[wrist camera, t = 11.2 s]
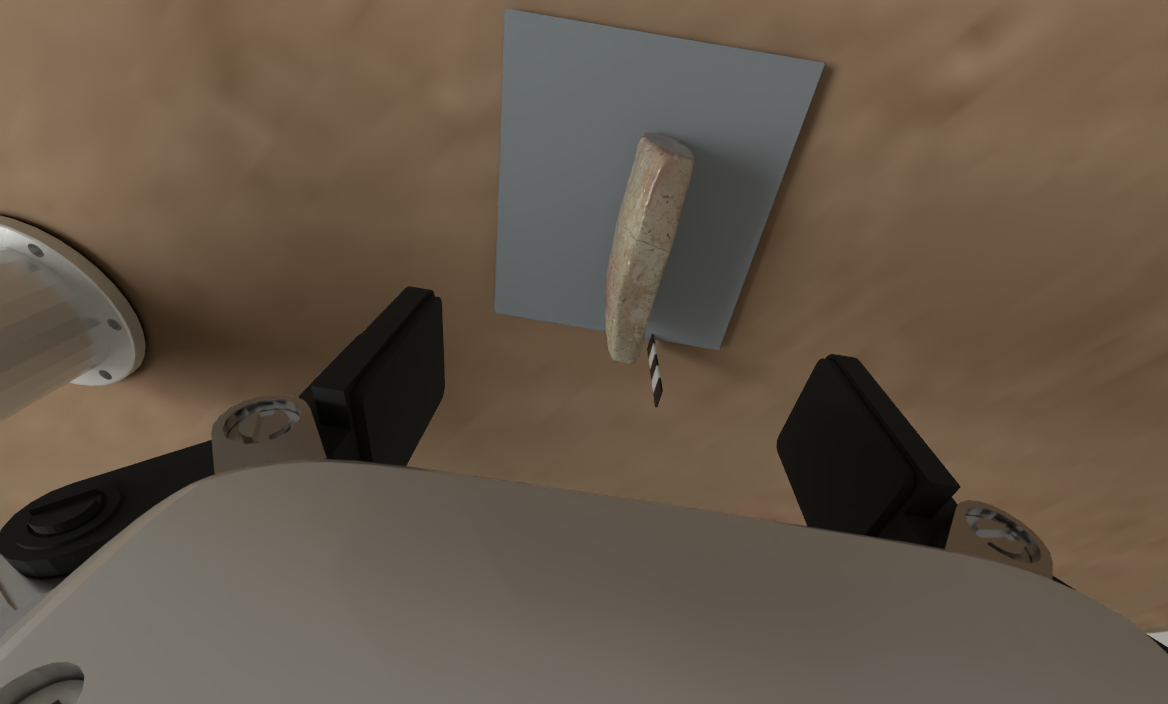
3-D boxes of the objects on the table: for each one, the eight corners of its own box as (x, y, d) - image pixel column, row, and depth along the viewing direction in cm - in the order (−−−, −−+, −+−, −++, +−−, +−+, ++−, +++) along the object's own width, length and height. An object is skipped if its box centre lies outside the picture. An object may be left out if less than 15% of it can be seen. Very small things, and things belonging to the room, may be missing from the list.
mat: (497, 307, 28) (494, 313, 27) (509, 10, 20) (504, 8, 19) (716, 343, 28) (718, 350, 27) (818, 63, 20) (825, 63, 19)
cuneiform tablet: (657, 409, 23) (739, 165, 17) (584, 397, 23) (638, 146, 16) (648, 348, 28) (709, 141, 21) (588, 338, 28) (631, 126, 21)
